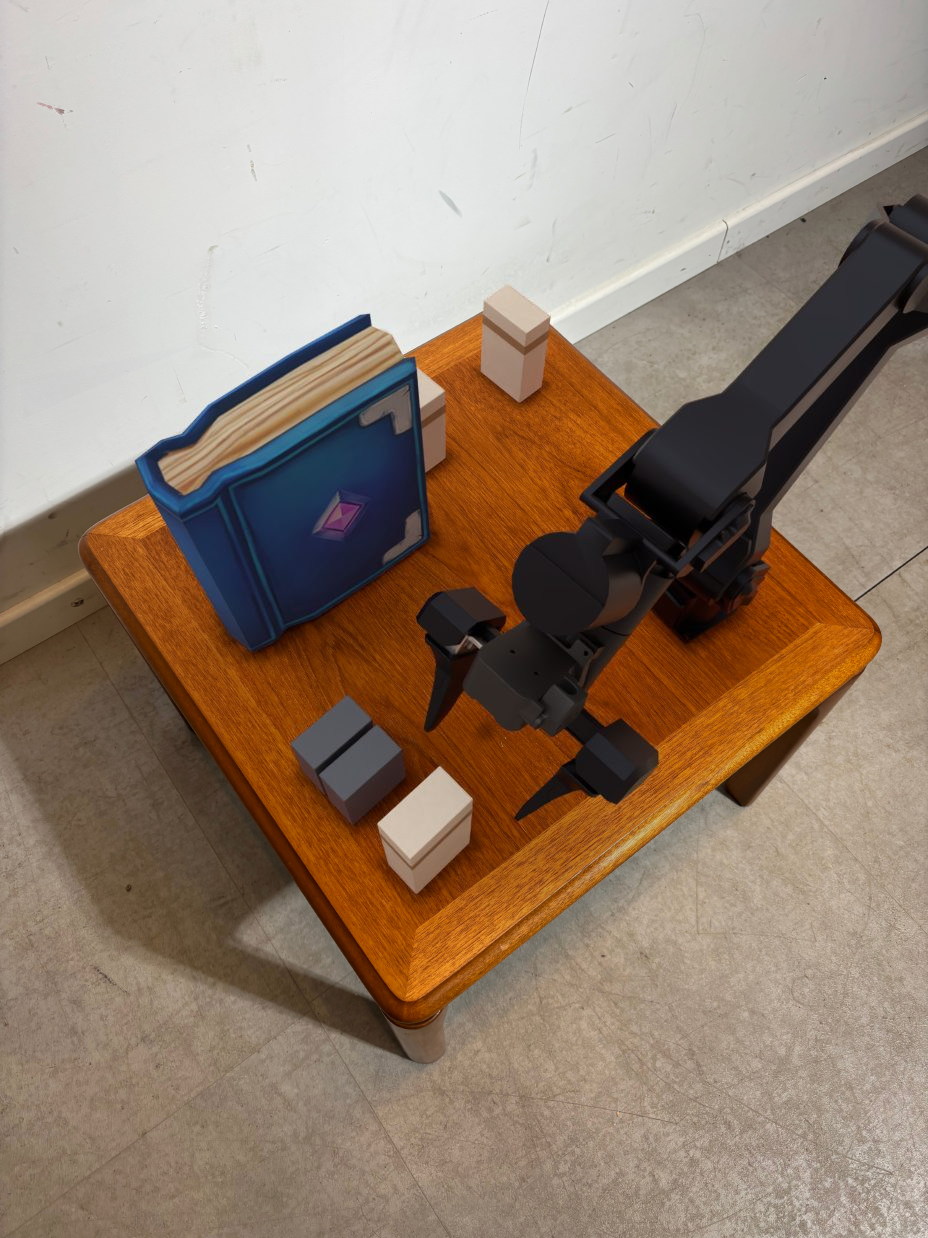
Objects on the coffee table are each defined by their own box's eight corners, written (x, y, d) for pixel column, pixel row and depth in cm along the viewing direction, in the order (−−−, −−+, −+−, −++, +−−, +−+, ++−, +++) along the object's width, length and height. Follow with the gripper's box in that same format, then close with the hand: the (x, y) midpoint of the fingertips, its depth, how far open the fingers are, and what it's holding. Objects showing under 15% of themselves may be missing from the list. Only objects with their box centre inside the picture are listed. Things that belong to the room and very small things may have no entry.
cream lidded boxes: (542, 386, 96) (551, 315, 87) (421, 476, 91) (418, 410, 82) (502, 355, 98) (507, 282, 89) (382, 441, 93) (374, 373, 84)
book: (246, 671, 80) (168, 513, 58) (204, 616, 83) (114, 445, 61) (435, 542, 87) (429, 356, 65) (390, 495, 90) (371, 300, 67)
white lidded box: (441, 812, 75) (439, 765, 64) (470, 842, 74) (473, 799, 63) (387, 863, 73) (376, 823, 62) (416, 895, 72) (410, 860, 61)
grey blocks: (355, 725, 78) (347, 694, 72) (406, 777, 76) (402, 749, 70) (302, 771, 76) (289, 743, 70) (352, 826, 74) (344, 802, 68)
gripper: (433, 523, 55) (317, 708, 61) (669, 730, 49) (515, 912, 55) (514, 521, 65) (407, 681, 71) (720, 694, 59) (583, 852, 65)
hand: (472, 773), depth 65 cm, fingers open, 9 cm apart
